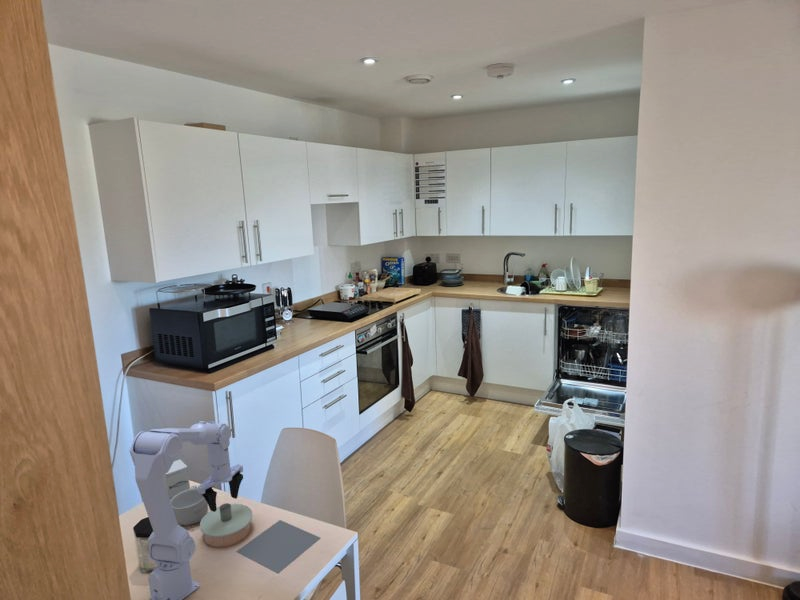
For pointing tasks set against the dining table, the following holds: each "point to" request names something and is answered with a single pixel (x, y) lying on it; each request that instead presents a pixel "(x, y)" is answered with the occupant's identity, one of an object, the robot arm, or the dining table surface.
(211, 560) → the dining table surface
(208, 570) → the dining table surface
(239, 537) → the bowl
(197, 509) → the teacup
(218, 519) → the cover
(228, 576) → the dining table surface
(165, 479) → the supplement box
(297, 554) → the mat
